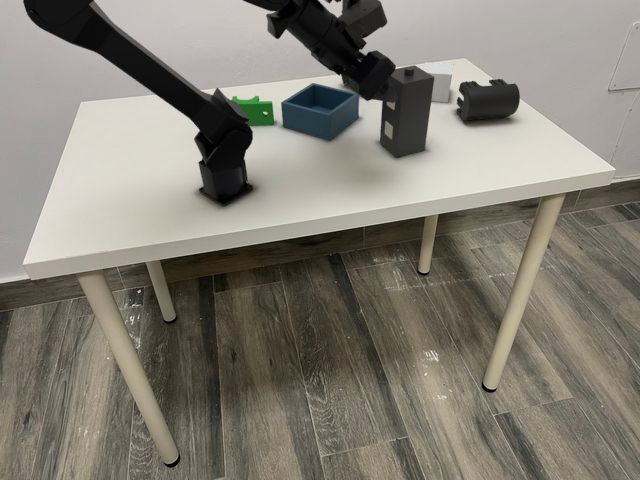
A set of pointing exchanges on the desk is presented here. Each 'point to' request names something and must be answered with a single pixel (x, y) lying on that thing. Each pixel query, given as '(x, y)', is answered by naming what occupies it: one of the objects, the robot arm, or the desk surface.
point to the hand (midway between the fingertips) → (381, 89)
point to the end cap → (487, 100)
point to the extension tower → (407, 112)
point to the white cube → (440, 80)
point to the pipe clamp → (256, 110)
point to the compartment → (320, 110)
